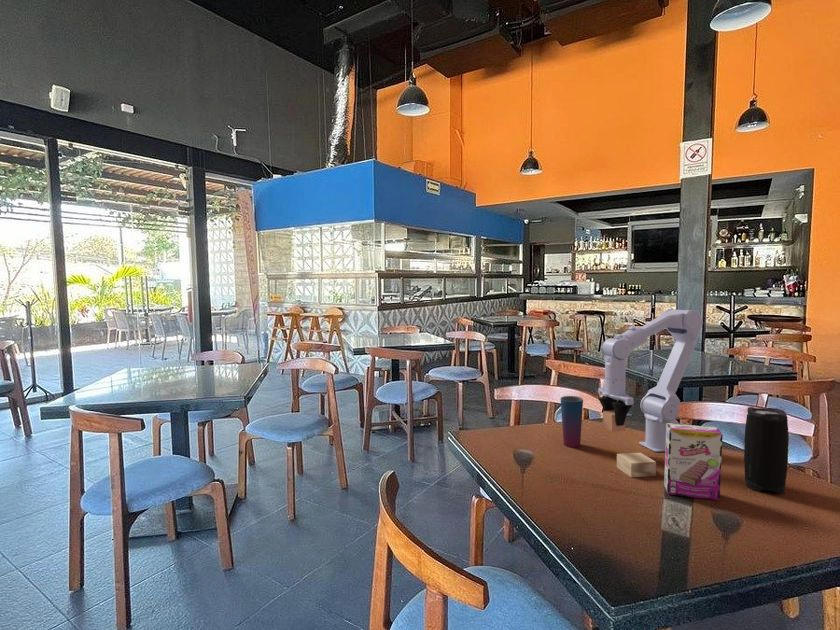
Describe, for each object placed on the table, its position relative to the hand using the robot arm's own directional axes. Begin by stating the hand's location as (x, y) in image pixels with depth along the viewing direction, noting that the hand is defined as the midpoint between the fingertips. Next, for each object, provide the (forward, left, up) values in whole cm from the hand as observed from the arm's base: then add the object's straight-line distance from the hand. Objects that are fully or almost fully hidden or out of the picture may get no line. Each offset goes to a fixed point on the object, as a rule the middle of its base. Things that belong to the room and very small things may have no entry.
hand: (614, 422), depth 136 cm
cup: (+9, -9, -9) cm, 16 cm away
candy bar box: (-1, +29, -9) cm, 30 cm away
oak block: (+3, +14, -9) cm, 17 cm away
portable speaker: (-21, +30, -9) cm, 38 cm away
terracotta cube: (0, 0, -2) cm, 2 cm away
